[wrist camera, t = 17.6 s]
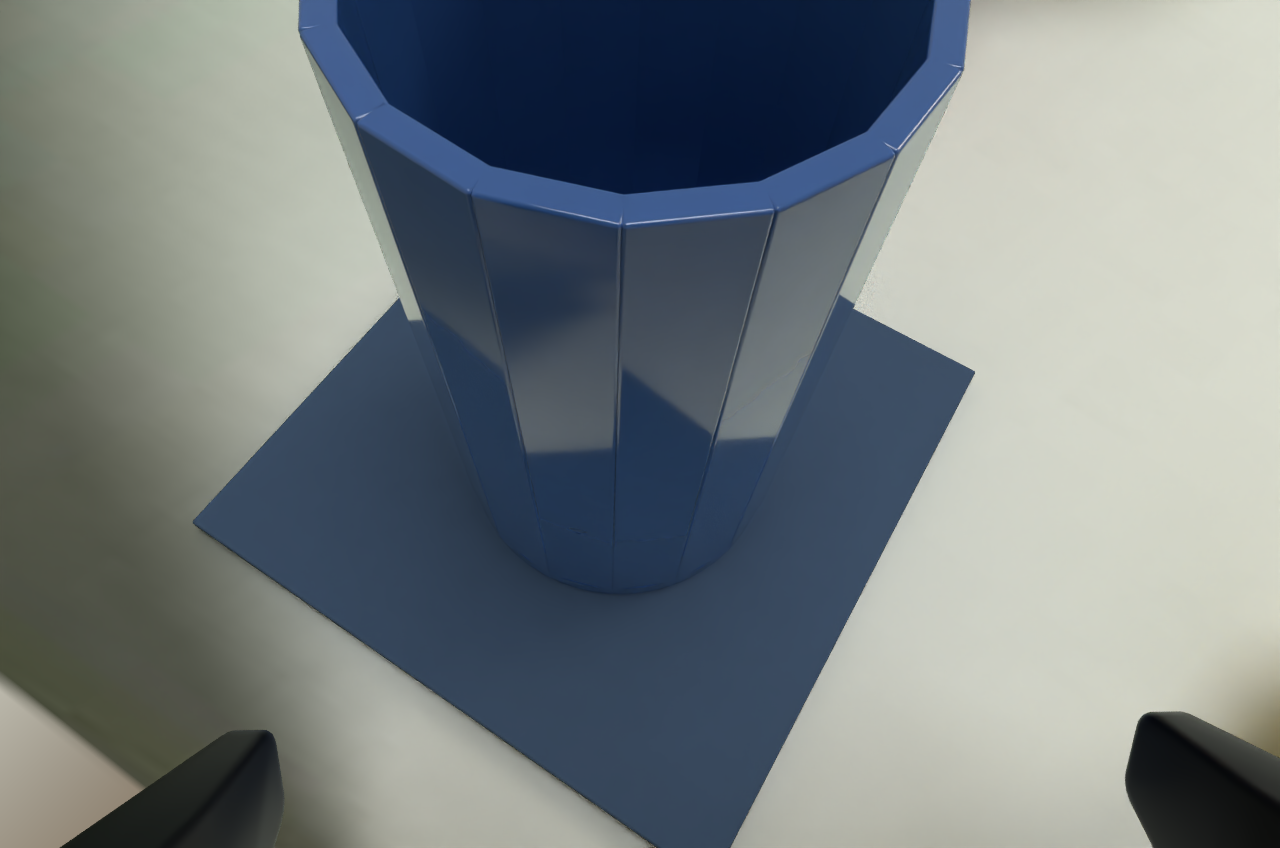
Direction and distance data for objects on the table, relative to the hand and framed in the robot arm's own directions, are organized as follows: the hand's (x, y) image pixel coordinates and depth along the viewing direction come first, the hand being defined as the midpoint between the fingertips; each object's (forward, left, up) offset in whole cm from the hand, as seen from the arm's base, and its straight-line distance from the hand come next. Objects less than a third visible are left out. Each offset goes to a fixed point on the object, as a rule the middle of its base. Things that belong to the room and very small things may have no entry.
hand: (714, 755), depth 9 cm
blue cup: (+6, +5, -10) cm, 12 cm away
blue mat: (+6, +5, -10) cm, 13 cm away
